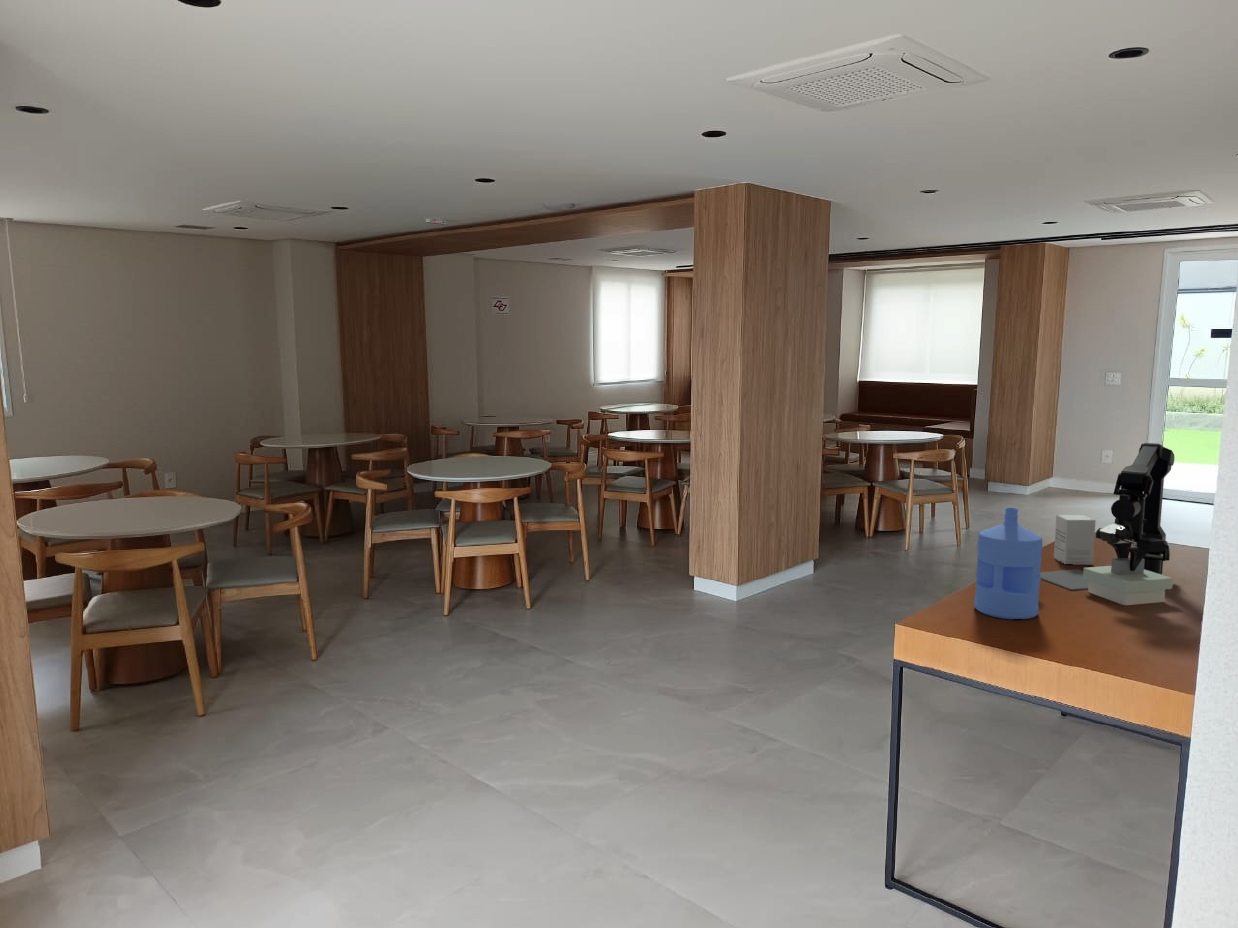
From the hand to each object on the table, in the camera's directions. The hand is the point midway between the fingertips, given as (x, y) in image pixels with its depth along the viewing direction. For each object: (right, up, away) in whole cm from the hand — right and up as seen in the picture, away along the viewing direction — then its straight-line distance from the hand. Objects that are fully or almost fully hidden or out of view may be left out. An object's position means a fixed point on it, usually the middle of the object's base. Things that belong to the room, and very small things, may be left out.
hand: (1127, 569), depth 234 cm
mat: (-5, -6, +18) cm, 20 cm away
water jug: (-39, -10, -11) cm, 42 cm away
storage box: (0, -8, +1) cm, 8 cm away
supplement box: (+7, -3, +40) cm, 41 cm away
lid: (0, -4, +1) cm, 4 cm away
